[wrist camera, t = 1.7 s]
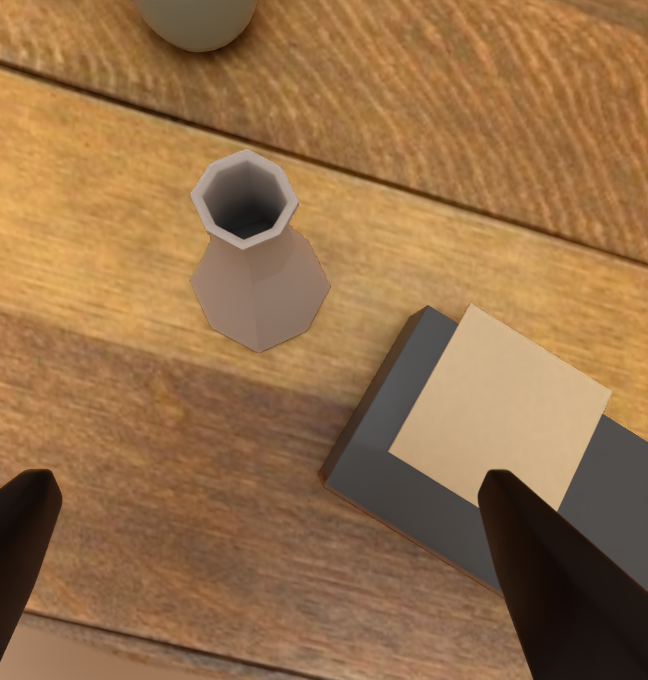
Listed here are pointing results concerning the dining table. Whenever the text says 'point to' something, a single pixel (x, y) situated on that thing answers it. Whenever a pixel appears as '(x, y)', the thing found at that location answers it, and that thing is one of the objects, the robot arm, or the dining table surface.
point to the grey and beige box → (488, 444)
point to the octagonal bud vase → (254, 254)
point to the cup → (197, 21)
